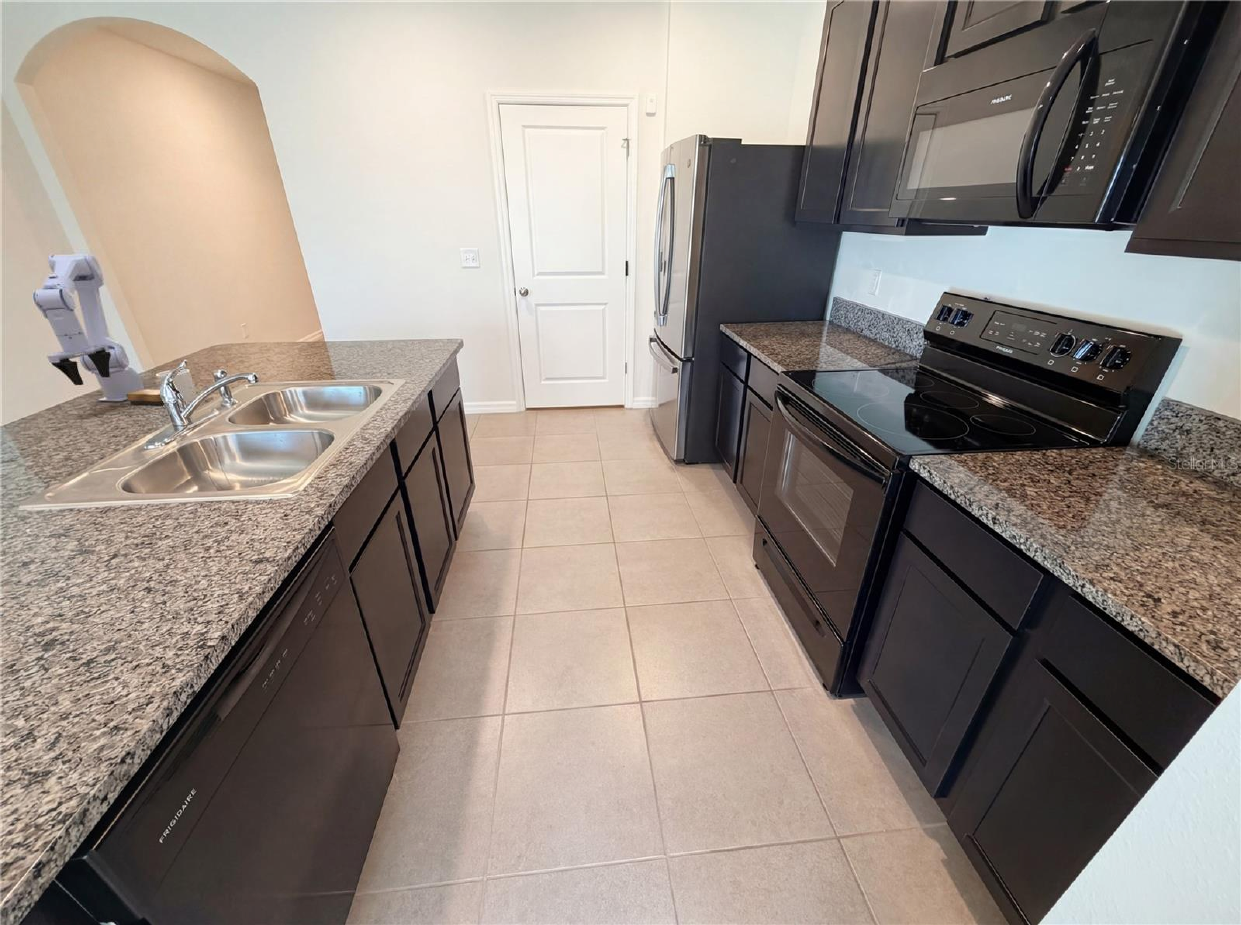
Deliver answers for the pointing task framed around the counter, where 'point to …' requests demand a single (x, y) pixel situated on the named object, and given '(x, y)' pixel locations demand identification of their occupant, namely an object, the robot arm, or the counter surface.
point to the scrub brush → (145, 397)
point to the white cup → (181, 383)
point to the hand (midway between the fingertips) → (92, 380)
